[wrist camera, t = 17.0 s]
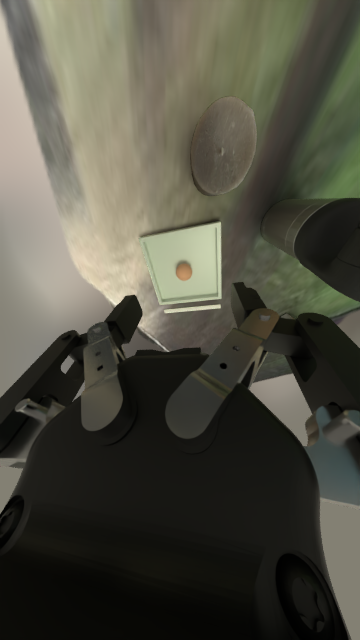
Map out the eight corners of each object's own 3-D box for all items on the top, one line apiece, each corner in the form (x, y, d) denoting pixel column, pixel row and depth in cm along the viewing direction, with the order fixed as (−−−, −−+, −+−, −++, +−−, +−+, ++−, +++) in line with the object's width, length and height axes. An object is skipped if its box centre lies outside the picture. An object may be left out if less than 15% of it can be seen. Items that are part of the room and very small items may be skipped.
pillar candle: (183, 174, 33) (176, 163, 22) (213, 115, 27) (225, 58, 16) (214, 206, 36) (222, 210, 25) (247, 158, 31) (277, 136, 19)
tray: (219, 220, 38) (220, 222, 35) (220, 294, 51) (221, 298, 49) (141, 236, 42) (138, 238, 40) (161, 300, 55) (159, 305, 53)
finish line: (220, 304, 54) (220, 304, 54) (220, 307, 55) (220, 308, 55) (164, 309, 58) (163, 309, 58) (165, 312, 59) (164, 313, 59)
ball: (191, 260, 44) (190, 265, 40) (193, 275, 47) (192, 282, 43) (175, 262, 45) (173, 268, 41) (178, 277, 48) (176, 284, 44)
